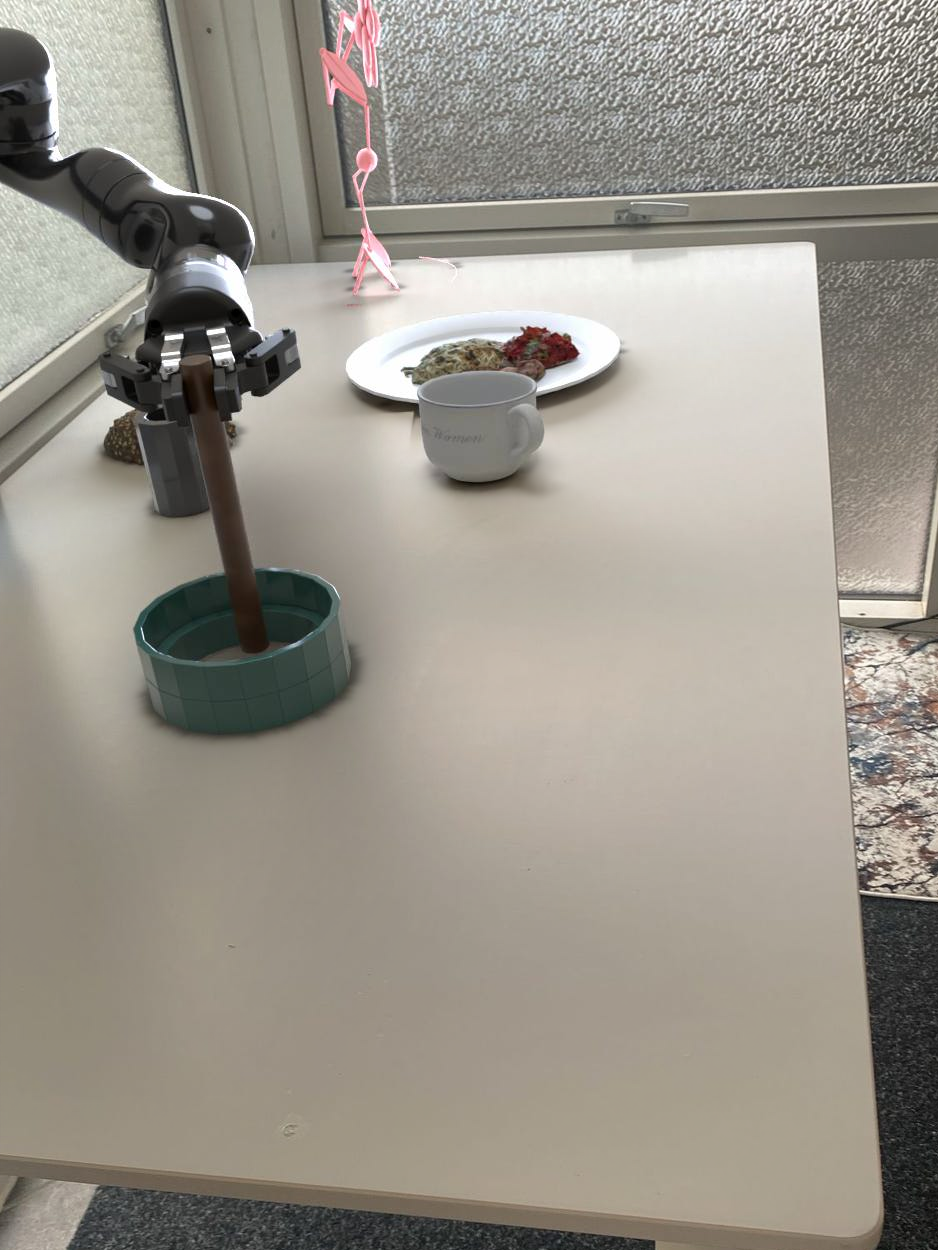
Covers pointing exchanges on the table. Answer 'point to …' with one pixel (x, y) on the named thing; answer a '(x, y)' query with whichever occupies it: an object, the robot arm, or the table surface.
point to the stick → (224, 502)
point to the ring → (252, 685)
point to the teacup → (479, 423)
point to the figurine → (367, 39)
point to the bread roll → (125, 440)
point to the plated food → (484, 351)
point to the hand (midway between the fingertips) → (201, 408)
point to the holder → (171, 465)
